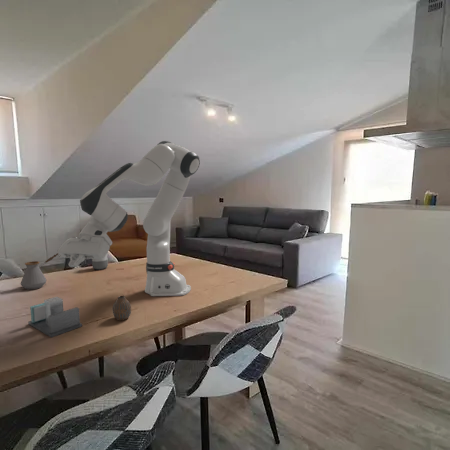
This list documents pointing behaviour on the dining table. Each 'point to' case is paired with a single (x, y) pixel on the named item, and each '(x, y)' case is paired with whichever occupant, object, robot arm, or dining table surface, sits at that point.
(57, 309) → the steel block
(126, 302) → the vase
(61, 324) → the vise
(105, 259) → the smart speaker
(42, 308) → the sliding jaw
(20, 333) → the dining table surface
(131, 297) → the dining table surface
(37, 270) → the coffee pot
